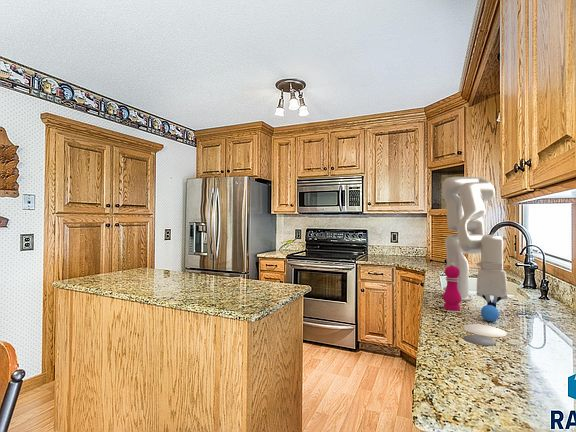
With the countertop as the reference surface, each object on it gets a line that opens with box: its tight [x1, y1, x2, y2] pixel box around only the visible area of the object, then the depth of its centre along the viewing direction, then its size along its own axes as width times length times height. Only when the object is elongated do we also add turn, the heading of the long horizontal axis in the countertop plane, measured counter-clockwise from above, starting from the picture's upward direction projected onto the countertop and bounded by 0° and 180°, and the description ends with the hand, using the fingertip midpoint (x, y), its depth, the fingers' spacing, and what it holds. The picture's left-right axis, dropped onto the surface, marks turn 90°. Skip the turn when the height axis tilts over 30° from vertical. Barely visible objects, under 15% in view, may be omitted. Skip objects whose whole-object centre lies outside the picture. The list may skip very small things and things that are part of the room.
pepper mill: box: [442, 263, 462, 312], centre depth 142 cm, size 7×7×20 cm
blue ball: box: [480, 304, 500, 322], centre depth 125 cm, size 6×6×6 cm
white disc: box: [462, 323, 508, 338], centre depth 113 cm, size 13×13×1 cm
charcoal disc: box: [463, 334, 497, 347], centre depth 104 cm, size 9×9×1 cm
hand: (491, 312), depth 131 cm, fingers closed
